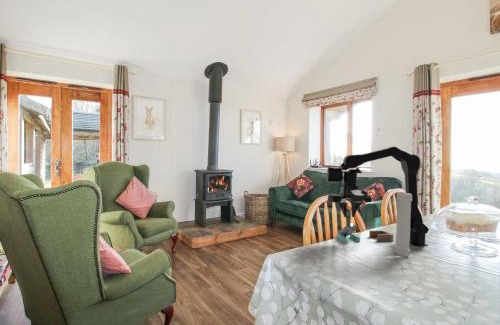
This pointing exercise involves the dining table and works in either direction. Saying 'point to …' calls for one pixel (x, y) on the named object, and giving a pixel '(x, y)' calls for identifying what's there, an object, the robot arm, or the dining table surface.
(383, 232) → the brown block
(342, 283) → the dining table surface
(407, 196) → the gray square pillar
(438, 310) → the dining table surface
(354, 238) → the cradle
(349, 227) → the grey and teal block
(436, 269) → the dining table surface
